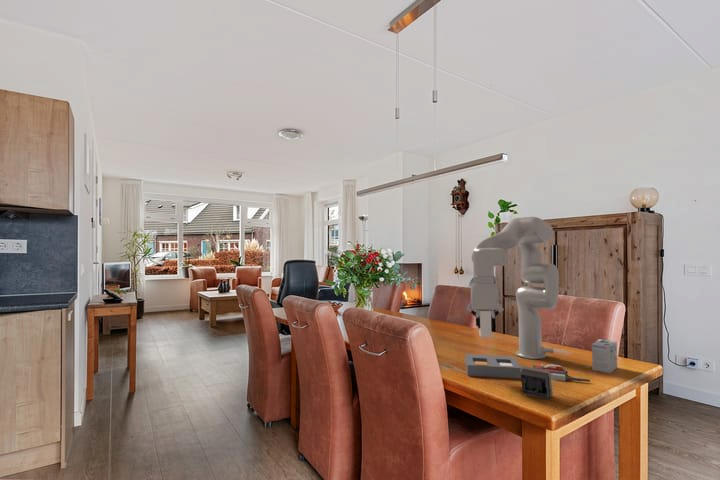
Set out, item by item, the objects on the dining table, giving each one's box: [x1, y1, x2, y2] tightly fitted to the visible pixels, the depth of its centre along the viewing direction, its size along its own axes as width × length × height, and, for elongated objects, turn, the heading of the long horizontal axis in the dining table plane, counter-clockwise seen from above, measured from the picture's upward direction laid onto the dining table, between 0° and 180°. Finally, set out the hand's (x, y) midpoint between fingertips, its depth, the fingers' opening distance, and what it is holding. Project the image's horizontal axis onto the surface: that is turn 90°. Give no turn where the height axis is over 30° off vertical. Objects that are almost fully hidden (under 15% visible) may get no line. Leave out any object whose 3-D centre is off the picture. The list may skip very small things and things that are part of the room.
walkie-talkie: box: [532, 363, 591, 383], centre depth 143 cm, size 9×4×20 cm
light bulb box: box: [591, 338, 618, 374], centre depth 153 cm, size 11×7×11 cm, turn 134°
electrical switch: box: [520, 365, 554, 400], centre depth 125 cm, size 9×5×9 cm, turn 51°
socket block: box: [464, 353, 522, 380], centre depth 151 cm, size 20×16×4 cm
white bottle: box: [478, 310, 493, 338], centre depth 145 cm, size 4×4×12 cm
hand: (485, 327), depth 145 cm, fingers closed on white bottle, 4 cm apart
